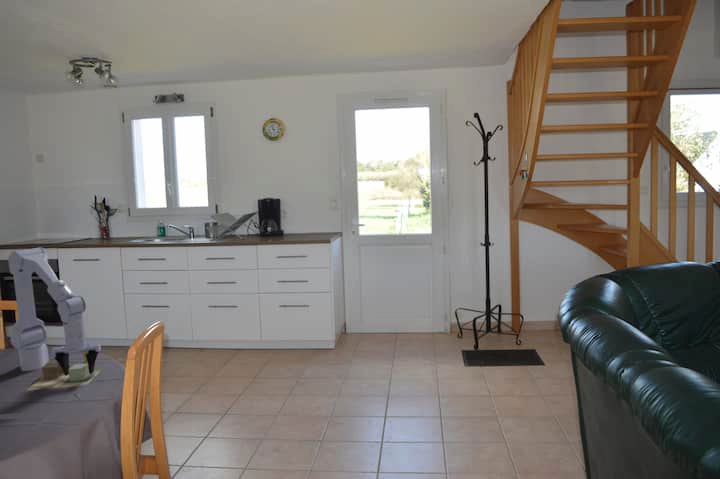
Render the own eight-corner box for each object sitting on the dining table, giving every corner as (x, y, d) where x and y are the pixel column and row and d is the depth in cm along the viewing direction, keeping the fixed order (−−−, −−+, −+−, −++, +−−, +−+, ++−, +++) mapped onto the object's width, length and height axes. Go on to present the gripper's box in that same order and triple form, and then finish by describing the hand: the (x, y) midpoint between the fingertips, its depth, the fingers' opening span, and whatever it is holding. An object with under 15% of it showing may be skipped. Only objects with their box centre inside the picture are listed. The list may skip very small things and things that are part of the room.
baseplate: (47, 376, 183) (46, 373, 183) (102, 372, 185) (102, 368, 185) (26, 393, 169) (26, 389, 169) (86, 389, 171) (85, 385, 171)
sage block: (75, 375, 179) (74, 364, 179) (89, 374, 180) (88, 363, 179) (69, 381, 175) (68, 369, 174) (84, 380, 175) (82, 368, 175)
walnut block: (49, 373, 182) (48, 362, 182) (63, 372, 183) (62, 361, 182) (43, 379, 178) (42, 367, 177) (57, 378, 178) (56, 366, 178)
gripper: (45, 339, 171) (50, 380, 173) (93, 335, 172) (97, 376, 174) (55, 332, 178) (60, 371, 180) (101, 329, 179) (105, 368, 181)
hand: (79, 373), depth 177 cm, fingers open, 7 cm apart
